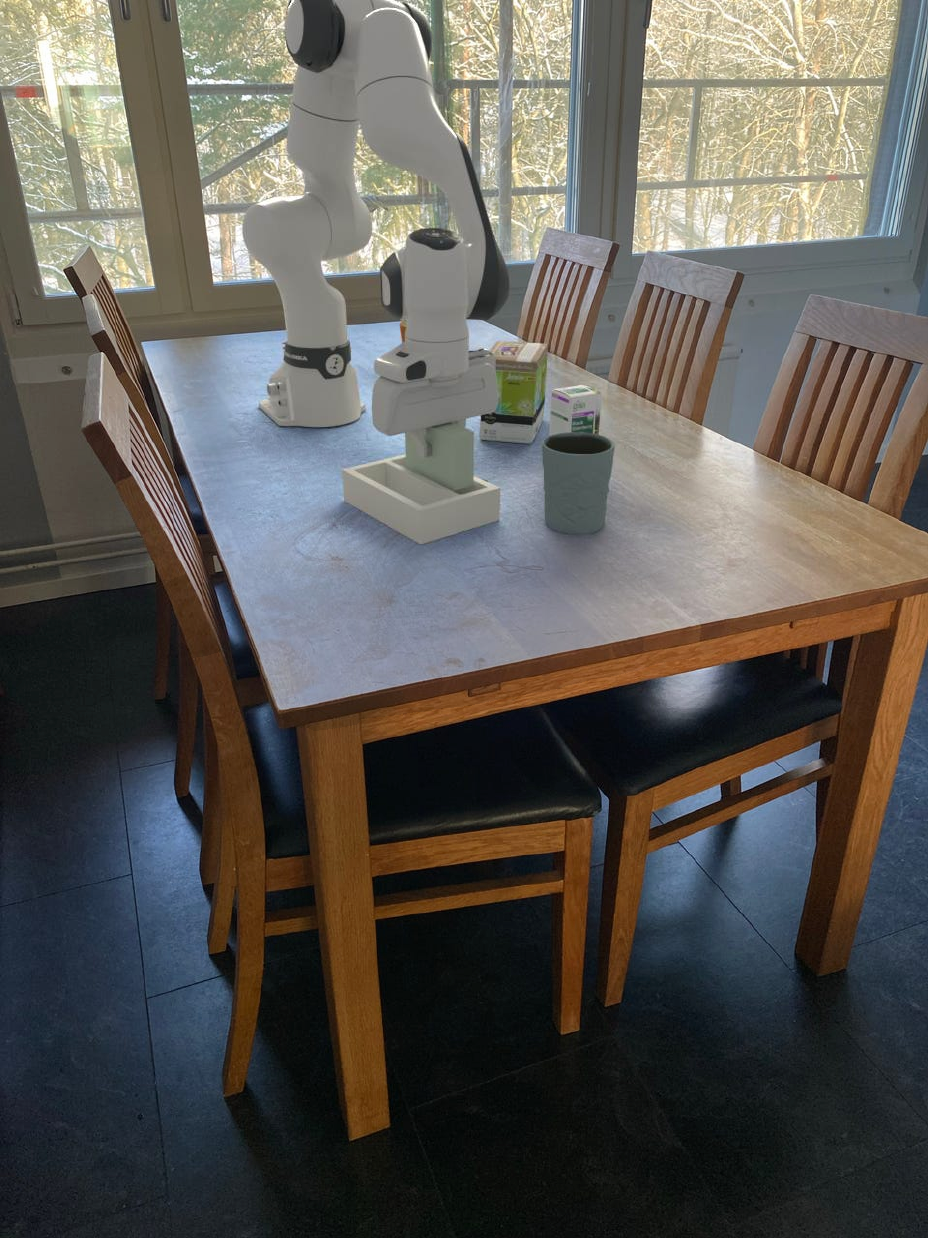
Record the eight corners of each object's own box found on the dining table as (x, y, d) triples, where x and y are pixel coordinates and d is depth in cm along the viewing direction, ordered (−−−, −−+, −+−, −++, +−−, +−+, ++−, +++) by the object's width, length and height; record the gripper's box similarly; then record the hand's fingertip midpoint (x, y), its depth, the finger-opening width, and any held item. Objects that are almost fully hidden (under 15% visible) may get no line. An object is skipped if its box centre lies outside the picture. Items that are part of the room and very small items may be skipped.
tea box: (534, 445, 164) (538, 360, 156) (478, 441, 165) (479, 357, 158) (545, 420, 177) (548, 341, 169) (493, 416, 178) (494, 338, 171)
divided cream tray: (344, 500, 140) (342, 469, 138) (425, 479, 148) (424, 449, 146) (420, 544, 127) (420, 510, 124) (505, 518, 135) (506, 486, 132)
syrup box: (566, 487, 145) (571, 396, 138) (546, 475, 150) (550, 387, 143) (596, 481, 148) (603, 391, 141) (575, 470, 152) (581, 382, 145)
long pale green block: (406, 467, 140) (404, 415, 136) (425, 462, 142) (424, 411, 138) (454, 490, 132) (454, 436, 128) (474, 484, 134) (474, 431, 130)
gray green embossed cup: (589, 542, 127) (596, 459, 122) (525, 526, 132) (528, 445, 126) (619, 518, 135) (626, 438, 129) (557, 504, 140) (562, 426, 134)
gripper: (481, 342, 136) (480, 433, 143) (363, 363, 125) (368, 460, 132) (509, 350, 132) (506, 444, 138) (389, 372, 121) (393, 473, 127)
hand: (438, 452), depth 135 cm, fingers closed on long pale green block, 3 cm apart
